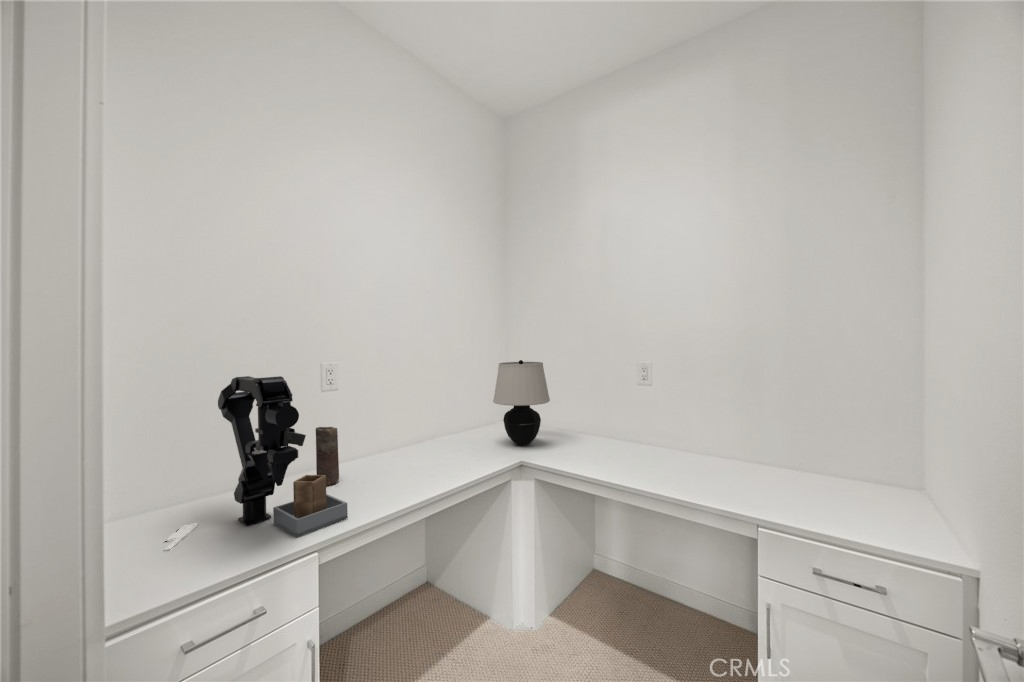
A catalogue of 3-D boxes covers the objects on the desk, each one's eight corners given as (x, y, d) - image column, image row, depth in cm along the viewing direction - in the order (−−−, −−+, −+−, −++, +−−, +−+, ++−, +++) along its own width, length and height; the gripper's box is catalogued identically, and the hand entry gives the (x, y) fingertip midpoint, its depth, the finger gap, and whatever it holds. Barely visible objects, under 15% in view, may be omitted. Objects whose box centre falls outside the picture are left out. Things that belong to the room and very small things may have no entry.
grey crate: (273, 523, 116) (273, 507, 116) (322, 507, 127) (322, 492, 127) (297, 537, 107) (296, 520, 107) (347, 518, 118) (347, 502, 118)
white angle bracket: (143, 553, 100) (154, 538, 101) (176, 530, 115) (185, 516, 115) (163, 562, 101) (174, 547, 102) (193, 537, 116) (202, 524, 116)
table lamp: (497, 437, 212) (496, 359, 212) (551, 437, 209) (549, 358, 209) (489, 452, 185) (487, 362, 185) (550, 452, 182) (548, 361, 182)
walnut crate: (294, 521, 114) (293, 481, 114) (307, 512, 120) (306, 474, 120) (314, 522, 114) (314, 482, 114) (326, 513, 120) (325, 475, 120)
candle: (317, 481, 150) (315, 426, 150) (339, 478, 153) (337, 424, 153) (316, 488, 143) (315, 430, 143) (339, 484, 146) (338, 428, 146)
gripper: (317, 422, 112) (318, 480, 112) (286, 415, 123) (287, 468, 124) (273, 430, 103) (274, 493, 103) (244, 422, 115) (245, 478, 115)
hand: (271, 482), depth 111 cm, fingers open, 9 cm apart
